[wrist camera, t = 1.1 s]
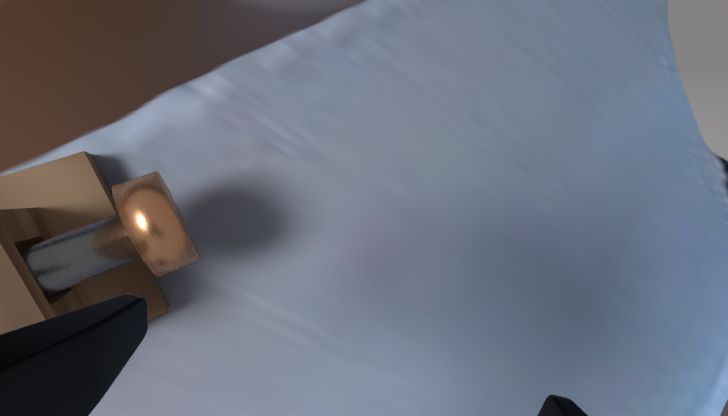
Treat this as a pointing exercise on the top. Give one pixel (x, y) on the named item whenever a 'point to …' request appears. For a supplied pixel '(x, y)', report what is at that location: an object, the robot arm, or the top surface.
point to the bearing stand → (52, 218)
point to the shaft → (117, 239)
